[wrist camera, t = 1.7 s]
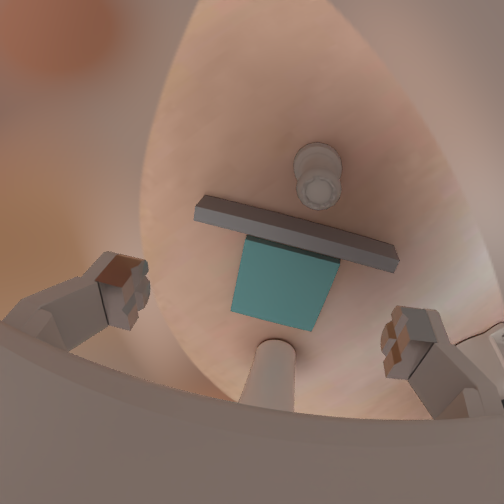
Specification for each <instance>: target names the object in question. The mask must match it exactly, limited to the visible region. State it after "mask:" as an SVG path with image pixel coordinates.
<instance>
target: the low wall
mask: <svg viewBox="0 0 504 504" xmlns="http://www.w3.org/2000/svg"><path fill="white" fill-rule="evenodd" d="M194 221H198V222H202V223H206V224H210V225H214V226H218V227H222V228H226V229H230V230H233V231H237V232H241V233H245V234H249V235H253V236H257V237H261V238H264V239H268V240H272V241H276V242H280V243H284V244H287V245H291V246H295V247H299V248H302V249H306V250H310V251H314V252H318V253H321V254H325V255H329V256H332V257H336V258H340V259H344V260H347V261H351V262H355V263H358V264H362V265H366V266H369V267H373V268H376V269H380V270H384V271H387V272H391V273H394V271H395V269H396V267H397V265H398V263H399V261H400V260H399V258H398V255H397V253H396V250H395V248H394V245H390V244H387V243H384V242H380V241H377V240H374V239H370V238H367V237H363V236H360V235H357V234H353V233H350V232H346V231H343V230H339V229H335V228H332V227H328V226H325V225H321V224H317V223H314V222H310V221H306V220H303V219H299V218H295V217H291V216H288V215H284V214H280V213H276V212H272V211H268V210H264V209H260V208H256V207H252V206H248V205H244V204H240V203H236V202H232V201H228V200H224V199H220V198H215V197H211V196H207V195H205V196H204V197H203V198H202V199H201V200H200V201H199V203H198V204H197V205H196V206H195V213H194Z"/></svg>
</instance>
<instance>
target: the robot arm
mask: <svg viewBox="0 0 504 504" xmlns="http://www.w3.org/2000/svg"><path fill="white" fill-rule="evenodd" d="M148 271H149V269H148V262H147V261H146V260H144V259H139V258H135V257H131V256H127V255H123V254H117V253H113V252H109V251H107V252H104V253H103V254H102V255H101V256H100V257H99V258H98V259H97V260H96V261H95V262H94V263H93V265H92V266H91V267H90V268H89V269H88V270H87V271H86V272H85V273H84V274H83V276H82V277H75V278H73V279H70V280H67V281H65V282H62V283H60V284H57V285H55V286H52V287H50V288H47V289H45V290H42V291H40V292H38V293H35V294H33V295H30V296H28V297H26V298H23V299H21V300H20V301H19V302H18V304H17V305H16V306H15V307H14V308H13V309H12V310H11V311H10V312H9V314H8V315H7V316H6V317H5V318H4V319H3V320H2V321H0V504H504V323H500V324H497V325H496V326H494V327H493V328H491V329H490V330H488V331H487V332H485V333H484V334H481V335H479V336H476V337H473V338H470V339H468V340H466V341H464V342H462V343H460V344H458V345H456V346H455V345H452V344H450V341H449V338H448V336H447V333H446V330H445V328H444V325H443V323H442V320H441V318H440V315H439V313H438V312H437V311H436V310H431V309H419V308H412V307H405V306H398V305H397V306H396V307H395V308H394V310H393V312H392V314H391V316H392V321H390V322H389V323H387V324H386V326H385V328H384V330H383V332H382V337H381V351H382V353H383V354H384V355H385V356H386V358H385V360H384V362H383V363H384V369H385V376H386V378H394V379H404V380H408V382H409V384H410V385H411V386H412V388H413V389H414V391H415V392H416V394H417V395H418V397H419V398H420V400H421V401H422V402H423V404H424V405H425V407H426V408H427V410H428V411H429V413H430V414H431V416H432V417H433V419H434V420H379V419H359V418H344V417H332V416H322V415H313V414H304V413H296V412H289V411H282V410H275V409H269V408H263V407H257V406H251V405H246V404H241V403H236V402H230V401H226V400H221V399H217V398H212V397H208V396H203V395H199V394H195V393H191V392H187V391H183V390H180V389H176V388H172V387H169V386H165V385H161V384H158V383H154V382H151V381H148V380H145V379H141V378H138V377H135V376H132V375H129V374H126V373H123V372H120V371H117V370H114V369H111V368H108V367H106V366H103V365H100V364H97V363H94V362H92V361H89V360H86V359H84V358H82V357H79V356H77V355H74V354H72V353H69V351H70V350H72V349H73V348H75V347H77V346H78V345H80V344H81V343H83V342H84V341H86V340H87V339H89V338H90V337H92V336H94V335H95V334H97V333H98V332H100V331H102V330H103V329H105V328H106V327H108V325H111V326H114V327H117V328H122V329H125V330H129V331H131V329H132V328H133V326H134V324H135V323H136V321H137V319H138V318H139V316H138V311H140V310H141V309H143V308H145V306H146V304H147V302H148V299H149V295H150V281H149V280H148V279H147V277H146V276H145V275H146V274H147V273H148Z"/></svg>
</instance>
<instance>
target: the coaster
mask: <svg viewBox="0 0 504 504" xmlns="http://www.w3.org/2000/svg"><path fill="white" fill-rule="evenodd" d="M339 266H340V259H337V258H333V257H330V256H326V255H322V254H318V253H315V252H311V251H307V250H303V249H300V248H296V247H292V246H288V245H284V244H281V243H277V242H273V241H269V240H265V239H261V238H258V237H254V236H250V235H247V236H246V239H245V243H244V248H243V253H242V258H241V262H240V267H239V272H238V277H237V282H236V287H235V292H234V297H233V301H232V306H231V311H232V312H236V313H240V314H243V315H247V316H251V317H255V318H259V319H262V320H266V321H270V322H274V323H278V324H282V325H286V326H290V327H294V328H298V329H302V330H307V331H312V329H313V327H314V325H315V322H316V320H317V318H318V316H319V313H320V311H321V309H322V307H323V304H324V302H325V300H326V297H327V295H328V293H329V290H330V288H331V286H332V283H333V281H334V278H335V276H336V273H337V271H338V268H339Z"/></svg>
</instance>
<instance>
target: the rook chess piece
mask: <svg viewBox="0 0 504 504" xmlns="http://www.w3.org/2000/svg"><path fill="white" fill-rule="evenodd" d="M293 167H294V173H295V177H296V179H297V180H298V181H297V186H296V190H297V195H298V198H299V199H300V200H301V202H302V203H303V204H304V205H306V206H307V207H309V208H311V209H314V210H323V209H328V208H330V207H331V206H333V205H335V203H336V202H337V201H338V199H339V198H340V194H341V190H342V189H341V183H340V180H339V179H340V177H341V173H342V163H341V158H340V156H339V155H338V153H337V152H336V150H335V149H333V148H332V147H330V146H329V145H327V144H323V143H318V142H317V143H311V144H307V145H306V146H304V147H303V148H301V149H300V150H299V151H298V153H297V154H296V156H295V159H294V165H293Z"/></svg>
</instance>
